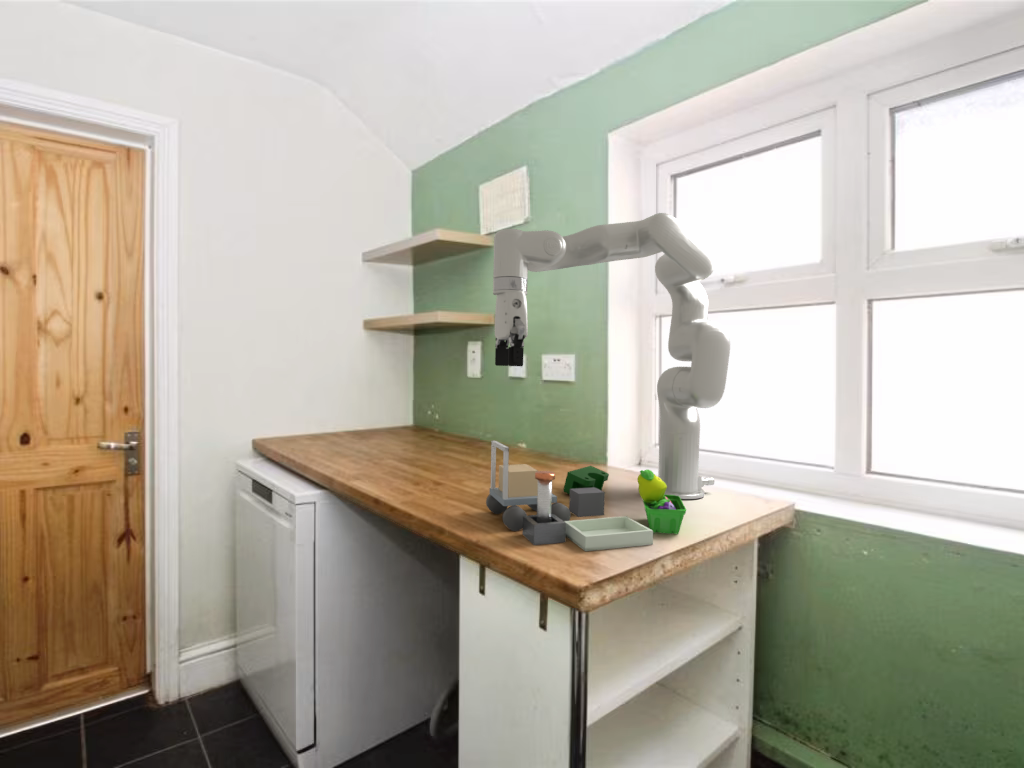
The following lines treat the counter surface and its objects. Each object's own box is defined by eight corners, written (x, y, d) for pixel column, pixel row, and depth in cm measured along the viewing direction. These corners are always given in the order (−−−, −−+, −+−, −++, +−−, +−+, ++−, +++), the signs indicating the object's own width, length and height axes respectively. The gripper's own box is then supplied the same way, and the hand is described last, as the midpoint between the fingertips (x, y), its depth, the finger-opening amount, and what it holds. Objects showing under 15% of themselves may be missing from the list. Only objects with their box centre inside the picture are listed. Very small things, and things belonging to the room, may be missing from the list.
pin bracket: (552, 531, 100) (552, 513, 100) (565, 542, 94) (565, 522, 94) (522, 534, 98) (522, 515, 98) (533, 545, 92) (534, 525, 92)
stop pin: (549, 534, 99) (550, 470, 98) (556, 540, 95) (558, 474, 95) (530, 536, 97) (532, 471, 97) (537, 542, 94) (539, 475, 94)
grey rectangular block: (594, 509, 116) (594, 487, 116) (604, 515, 112) (604, 492, 112) (569, 511, 114) (569, 488, 114) (578, 517, 110) (578, 493, 110)
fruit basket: (686, 537, 99) (688, 477, 98) (637, 533, 100) (639, 474, 100) (678, 519, 110) (680, 465, 109) (634, 516, 111) (636, 463, 111)
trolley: (544, 508, 117) (546, 437, 116) (570, 526, 104) (572, 447, 103) (485, 512, 112) (487, 439, 112) (505, 532, 99) (506, 449, 99)
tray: (625, 528, 103) (626, 516, 103) (652, 544, 94) (653, 530, 94) (563, 534, 99) (563, 521, 99) (585, 551, 90) (585, 536, 90)
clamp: (583, 515, 127) (584, 485, 123) (563, 504, 131) (563, 475, 127) (610, 488, 135) (611, 460, 131) (590, 479, 139) (591, 451, 134)
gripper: (540, 283, 109) (538, 366, 110) (514, 293, 126) (512, 365, 126) (505, 281, 107) (503, 366, 107) (483, 291, 123) (482, 365, 124)
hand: (508, 365), depth 117 cm, fingers open, 9 cm apart
